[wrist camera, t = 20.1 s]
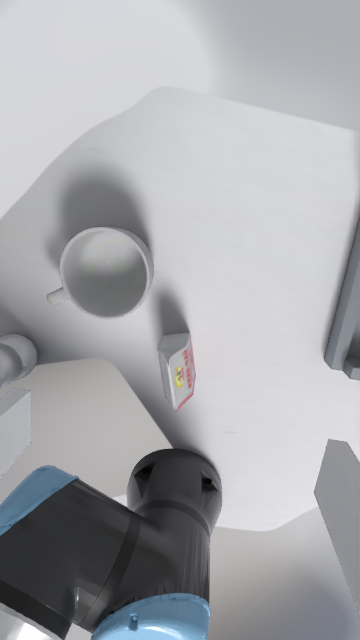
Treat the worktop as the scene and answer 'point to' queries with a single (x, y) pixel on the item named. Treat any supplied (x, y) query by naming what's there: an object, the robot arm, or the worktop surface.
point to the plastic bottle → (16, 358)
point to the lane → (347, 320)
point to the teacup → (104, 272)
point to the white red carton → (177, 368)
